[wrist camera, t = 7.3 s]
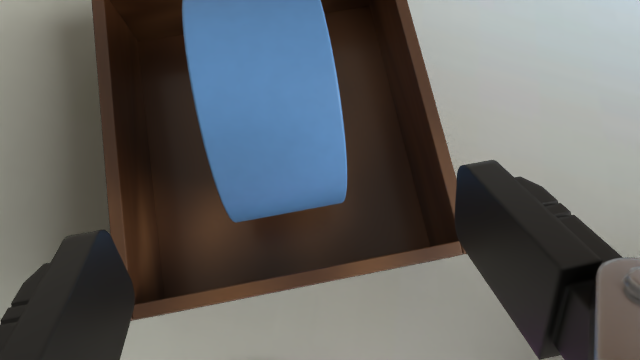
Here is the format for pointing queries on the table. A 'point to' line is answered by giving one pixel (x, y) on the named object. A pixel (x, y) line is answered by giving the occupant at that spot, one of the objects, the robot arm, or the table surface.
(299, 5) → the tape roll
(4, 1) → the table surface
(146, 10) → the wooden box
